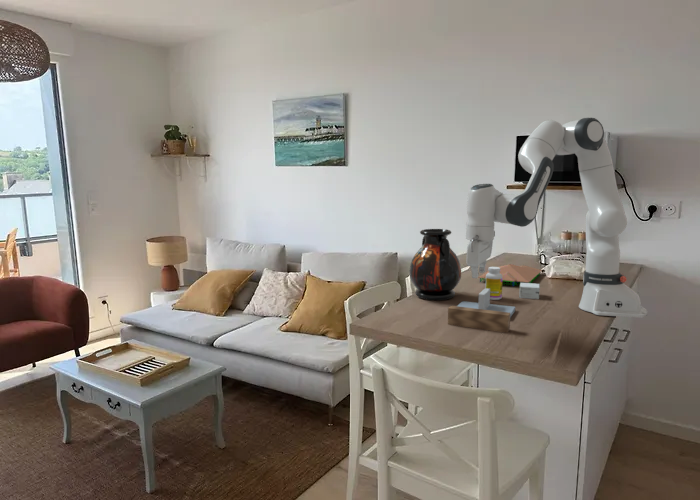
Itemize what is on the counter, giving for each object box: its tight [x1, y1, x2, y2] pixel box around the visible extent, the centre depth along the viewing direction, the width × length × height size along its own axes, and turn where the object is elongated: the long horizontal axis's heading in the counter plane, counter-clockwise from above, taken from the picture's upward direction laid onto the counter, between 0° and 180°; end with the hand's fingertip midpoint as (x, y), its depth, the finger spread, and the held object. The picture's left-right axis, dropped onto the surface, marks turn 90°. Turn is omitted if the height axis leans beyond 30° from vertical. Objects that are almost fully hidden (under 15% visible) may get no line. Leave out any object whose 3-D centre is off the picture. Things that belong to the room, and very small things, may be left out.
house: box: [477, 263, 543, 287], centre depth 234 cm, size 23×33×8 cm
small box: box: [518, 282, 541, 300], centre depth 203 cm, size 8×8×5 cm
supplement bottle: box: [484, 266, 503, 301], centre depth 201 cm, size 7×7×13 cm
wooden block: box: [447, 305, 511, 334], centre depth 165 cm, size 20×4×6 cm, turn 61°
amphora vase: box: [409, 228, 462, 301], centre depth 205 cm, size 22×22×28 cm
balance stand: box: [457, 288, 516, 319], centre depth 181 cm, size 20×14×8 cm
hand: (478, 275), depth 163 cm, fingers open, 8 cm apart
